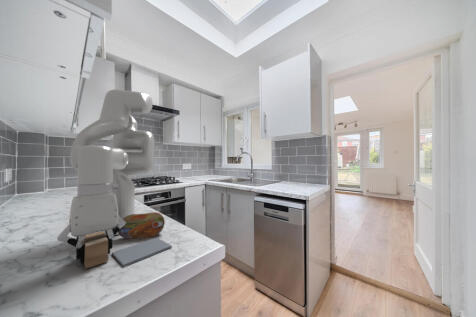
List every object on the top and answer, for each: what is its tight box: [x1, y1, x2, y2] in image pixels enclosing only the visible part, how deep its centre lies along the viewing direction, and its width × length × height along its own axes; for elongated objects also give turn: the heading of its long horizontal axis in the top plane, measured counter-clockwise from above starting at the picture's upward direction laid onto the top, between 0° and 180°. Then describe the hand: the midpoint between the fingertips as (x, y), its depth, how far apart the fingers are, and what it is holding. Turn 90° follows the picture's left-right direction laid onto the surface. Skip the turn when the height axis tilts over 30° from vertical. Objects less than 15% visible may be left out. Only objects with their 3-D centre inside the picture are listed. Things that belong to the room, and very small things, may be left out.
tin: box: [118, 211, 166, 240], centre depth 62 cm, size 15×3×8 cm, turn 105°
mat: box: [111, 237, 172, 268], centre depth 51 cm, size 10×13×1 cm
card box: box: [83, 231, 109, 270], centre depth 47 cm, size 9×4×6 cm, turn 45°
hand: (94, 255), depth 47 cm, fingers closed on card box, 4 cm apart
